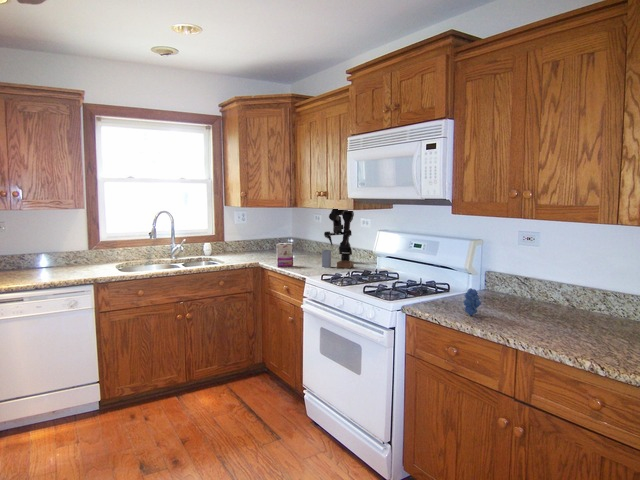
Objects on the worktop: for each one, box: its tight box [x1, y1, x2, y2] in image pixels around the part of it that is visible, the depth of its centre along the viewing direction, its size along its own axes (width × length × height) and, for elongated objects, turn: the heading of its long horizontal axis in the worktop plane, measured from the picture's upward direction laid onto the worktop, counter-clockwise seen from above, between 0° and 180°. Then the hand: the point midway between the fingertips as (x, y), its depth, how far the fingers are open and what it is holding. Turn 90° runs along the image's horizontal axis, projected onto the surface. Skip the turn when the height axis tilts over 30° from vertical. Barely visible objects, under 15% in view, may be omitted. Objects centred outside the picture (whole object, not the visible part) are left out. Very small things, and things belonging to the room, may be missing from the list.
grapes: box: [462, 288, 482, 316], centre depth 189 cm, size 12×7×12 cm, turn 135°
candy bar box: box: [276, 242, 294, 268], centre depth 314 cm, size 11×5×16 cm, turn 105°
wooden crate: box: [336, 260, 355, 270], centre depth 312 cm, size 9×9×4 cm
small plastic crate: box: [321, 249, 332, 269], centre depth 312 cm, size 5×5×12 cm
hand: (338, 245), depth 307 cm, fingers open, 9 cm apart
